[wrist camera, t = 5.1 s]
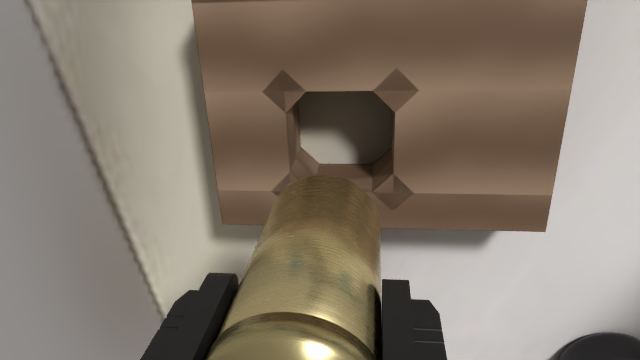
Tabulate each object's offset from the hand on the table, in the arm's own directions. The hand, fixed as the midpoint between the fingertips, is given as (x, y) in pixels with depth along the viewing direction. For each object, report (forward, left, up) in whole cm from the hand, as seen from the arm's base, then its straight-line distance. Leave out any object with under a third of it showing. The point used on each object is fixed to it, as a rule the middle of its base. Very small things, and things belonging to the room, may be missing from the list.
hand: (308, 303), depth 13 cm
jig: (-1, +2, -17) cm, 17 cm away
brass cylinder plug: (0, 0, -4) cm, 4 cm away
